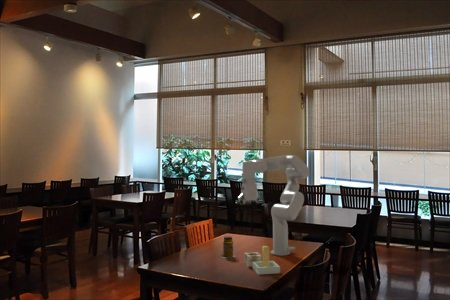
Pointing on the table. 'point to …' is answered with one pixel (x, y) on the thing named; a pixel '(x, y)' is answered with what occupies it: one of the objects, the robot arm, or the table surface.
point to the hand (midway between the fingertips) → (249, 210)
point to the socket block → (251, 258)
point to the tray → (266, 268)
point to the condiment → (227, 247)
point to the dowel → (265, 256)
